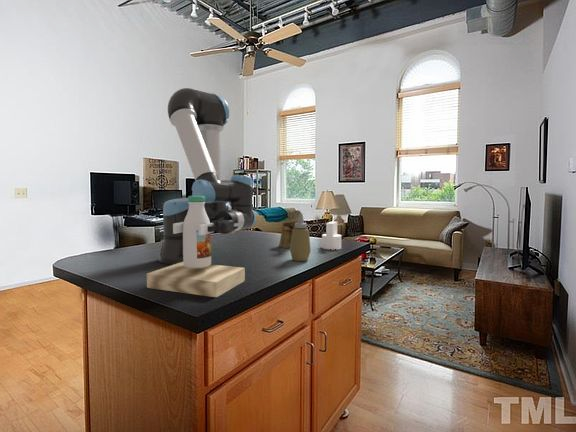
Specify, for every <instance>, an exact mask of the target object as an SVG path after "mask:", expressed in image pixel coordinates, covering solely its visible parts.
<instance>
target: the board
mask: <svg viewBox="0 0 576 432" xmlns="http://www.w3.org/2000/svg"><path fill="white" fill-rule="evenodd" d="M245 269H246V268H245V267H241V266H231V265H220V264H212V263H211V265H210V266H208V267H203V268H187V267H185V266H184V264H183V262H180V263H177V264H170V265H169V266H165V267H162V268H160V269H156V270H153V271H150V272H148V273H146V288H148V289H154V290H160V291H161V290H162V291H167V292H168V291H169V292H175V293H184V294H188V295H189V294H190V295H197V296H203V297H212V298H218V297H220V296H221V295H224V294H225V293H226V292H227V293H228V291H230V290H231V289H234V288H235V287H237V286H239V285H240V284H242V283H243V282H246V281H245V280H246V279H245V278H246V276H245V275H246V272H245V271H246V270H245Z"/></svg>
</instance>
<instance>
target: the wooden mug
mask: <svg viewBox="0 0 576 432" xmlns="http://www.w3.org/2000/svg"><path fill="white" fill-rule="evenodd" d="M299 214H303V213H302V212H301V211H300V210H296V211H292V212H291V214H290V215H289V222H283V223H282V226H281V234H280V239H279V240H280V241H279V244H278V248H283V249H290V245H291V237H292V230H293V229H295V223H297V222H298V218H299Z"/></svg>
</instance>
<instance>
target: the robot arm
mask: <svg viewBox="0 0 576 432" xmlns="http://www.w3.org/2000/svg"><path fill="white" fill-rule="evenodd" d="M168 100H169V101H168V103H167V115H168V118H169V122H170V124H171V125H172V126H174V128H175V130H176V131H177V135H178V137H179V141H180V143H181V146H182V148H183V151H184V153H185V156H186V159H187V161H188V165H189V167H190V169H191V172H192V175H193V177H194V180H195V181H194V182H193V183H192V186H191V191H192V193H191V196H205V204H204V208H205V211H206V214H207V216H208V218H209V221H210V223H208V224H203V225H198V235H200V236H201V235H205V234H209V233H211V234H213V233H219V234H222V235H226V234H229V233H231V234H234V233H235V232H237V231H241V230H248V229H249V228H251V227H253V226H254V225H255V224H256V223H257V213H256V212H255V211H254V209H253V190H254V188H253V179H252V177H251V176H250V175H238V174H237V175H232V176H231V177H230V180H225V179H224V180H222V170H221V169H222V168H221V167H222V165H221V163H222V162H221V132H222V131H223V130H224V126H225V125H226V124H227V123H228V121H229V118H230V109H229V104H228V102H227V100H226V99H225V98H224V97H222V96H220V95H217V94H215V93H212V92H211V93H210V92H205V91H202V90H198V89H193V88H191V87H190V88H189V87H184V88H183V87H182V88H179V89H178V90H176V91H175V92H174V93H173V94H172V95H171V96H170V98H169V99H168ZM188 210H189V204H188V197H184V198H182V197H181V198H174V199H169V200H167V201H165V202H164V203H163V209H162V217H163V218H162V220H163V221H162V223H163V242H162V246H161V249H160V251H159V254H158V258H159V259H158V261H159V263H161V264H165V265H174V264H177V263H180V262H183V224H184V220H185V217H186V215H187V213H188Z"/></svg>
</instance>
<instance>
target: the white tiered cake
mask: <svg viewBox="0 0 576 432" xmlns="http://www.w3.org/2000/svg"><path fill="white" fill-rule="evenodd" d="M338 225H339V223H338V221H329V222H326V224H325V226H326V227H325V229H326V230H325V231H326V233H323V234H322V235H321V248H322V249H323V250H324V249H325V250H330V249H331V250H333V251H334V250H335V249H336V250H341V249H342V234H338Z"/></svg>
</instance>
